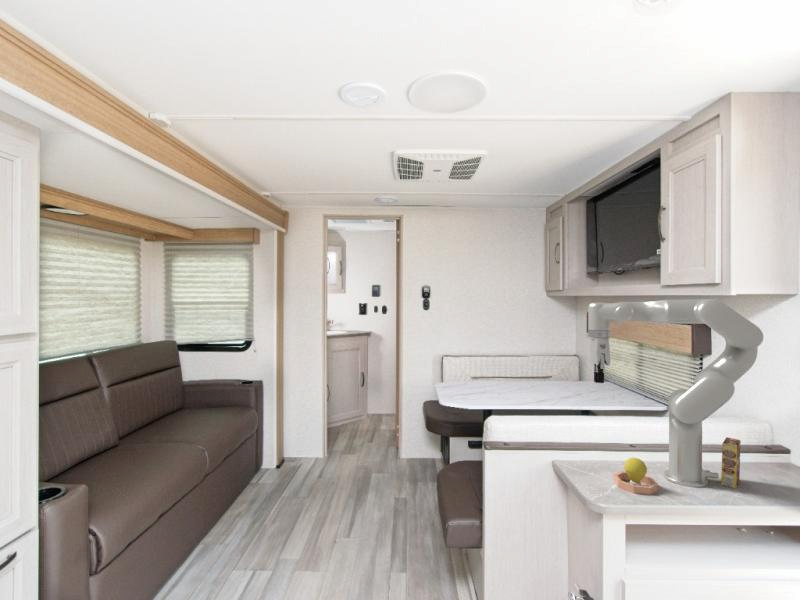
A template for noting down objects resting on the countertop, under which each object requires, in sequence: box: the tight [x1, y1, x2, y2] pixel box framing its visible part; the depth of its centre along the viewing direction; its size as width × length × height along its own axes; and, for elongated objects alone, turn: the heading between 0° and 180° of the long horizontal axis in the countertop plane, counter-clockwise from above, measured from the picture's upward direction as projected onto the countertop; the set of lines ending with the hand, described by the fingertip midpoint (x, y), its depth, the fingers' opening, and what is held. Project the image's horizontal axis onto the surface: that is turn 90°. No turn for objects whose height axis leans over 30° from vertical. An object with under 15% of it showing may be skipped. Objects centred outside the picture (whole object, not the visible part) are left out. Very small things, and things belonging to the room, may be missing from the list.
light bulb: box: [623, 457, 648, 486], centre depth 136 cm, size 7×7×10 cm
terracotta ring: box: [613, 470, 659, 495], centre depth 136 cm, size 12×12×3 cm
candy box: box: [720, 437, 742, 489], centre depth 138 cm, size 9×4×15 cm, turn 134°
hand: (598, 382), depth 154 cm, fingers closed
